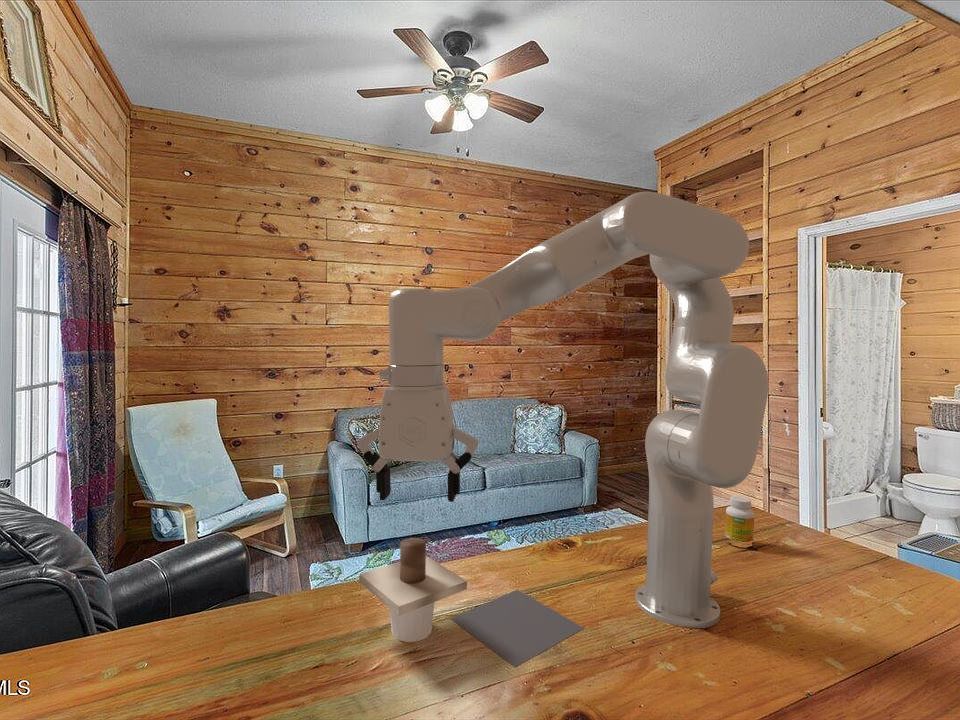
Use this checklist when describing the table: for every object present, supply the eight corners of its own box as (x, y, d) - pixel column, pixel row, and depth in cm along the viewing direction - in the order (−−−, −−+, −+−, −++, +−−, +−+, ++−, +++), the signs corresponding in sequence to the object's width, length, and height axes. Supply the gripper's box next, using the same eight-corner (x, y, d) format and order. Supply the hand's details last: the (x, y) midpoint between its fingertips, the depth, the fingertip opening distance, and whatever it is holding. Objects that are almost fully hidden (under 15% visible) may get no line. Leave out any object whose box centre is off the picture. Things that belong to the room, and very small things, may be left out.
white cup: (427, 651, 67) (428, 600, 67) (379, 644, 68) (380, 594, 68) (441, 623, 74) (442, 577, 73) (397, 617, 75) (398, 571, 75)
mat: (517, 592, 83) (517, 589, 83) (584, 631, 72) (584, 628, 72) (449, 621, 74) (449, 618, 74) (514, 670, 63) (515, 666, 63)
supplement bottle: (729, 547, 103) (731, 501, 103) (721, 537, 109) (723, 493, 108) (757, 550, 102) (759, 503, 102) (747, 539, 108) (749, 495, 107)
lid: (423, 561, 78) (424, 522, 78) (466, 589, 70) (467, 546, 70) (359, 582, 71) (359, 539, 71) (398, 615, 63) (399, 567, 63)
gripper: (347, 380, 67) (350, 505, 67) (475, 380, 65) (476, 508, 66) (365, 375, 74) (367, 488, 75) (480, 375, 72) (481, 491, 73)
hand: (418, 498), depth 70 cm, fingers open, 9 cm apart
